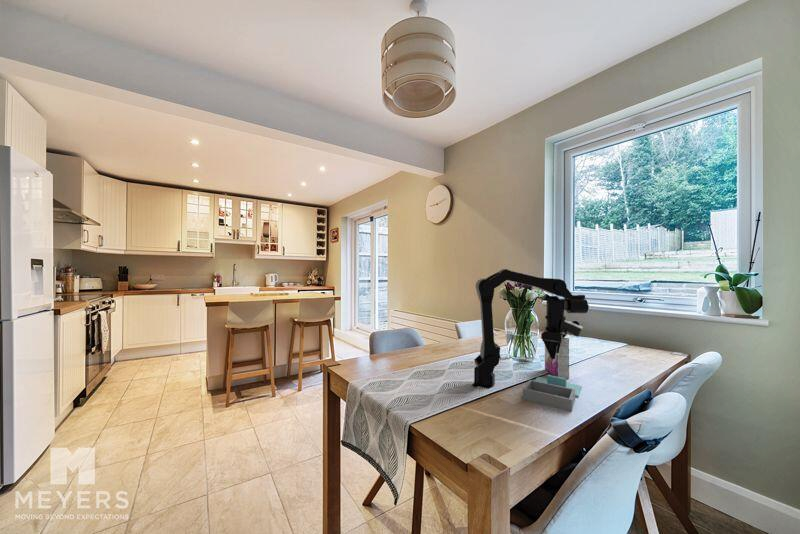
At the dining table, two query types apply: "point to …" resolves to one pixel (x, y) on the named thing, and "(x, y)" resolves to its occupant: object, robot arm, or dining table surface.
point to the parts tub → (549, 394)
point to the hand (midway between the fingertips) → (555, 355)
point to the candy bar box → (559, 360)
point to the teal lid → (560, 383)
